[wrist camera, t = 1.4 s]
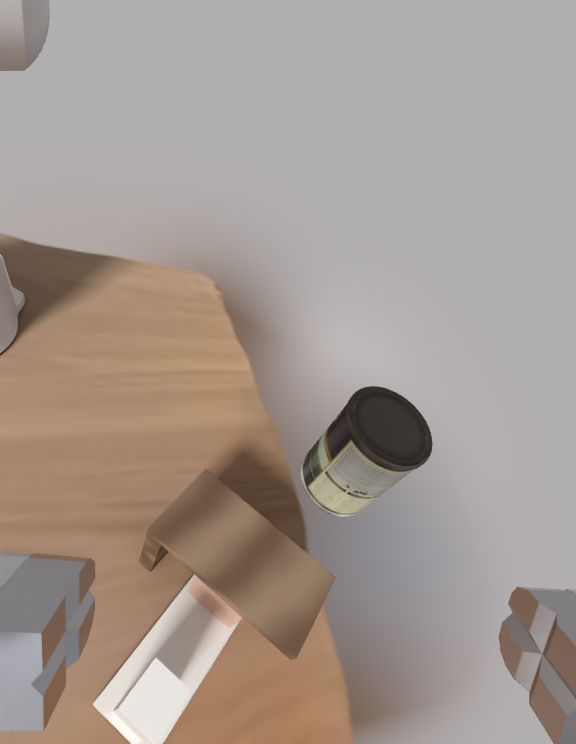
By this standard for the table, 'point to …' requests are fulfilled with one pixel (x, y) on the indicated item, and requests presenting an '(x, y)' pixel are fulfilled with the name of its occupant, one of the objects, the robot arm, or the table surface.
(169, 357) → the table surface
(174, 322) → the table surface
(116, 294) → the table surface
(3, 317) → the robot arm
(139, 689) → the white pillar stand
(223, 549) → the shelf
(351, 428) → the coffee can
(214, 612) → the cube
